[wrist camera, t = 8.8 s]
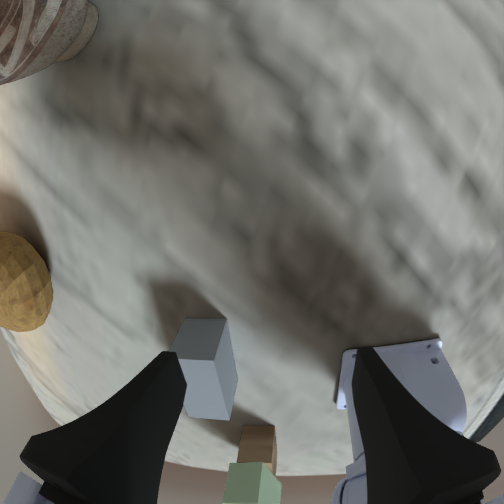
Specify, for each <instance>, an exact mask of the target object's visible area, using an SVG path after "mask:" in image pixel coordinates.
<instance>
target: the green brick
mask: <svg viewBox="0 0 504 504" xmlns="http://www.w3.org/2000/svg"><path fill="white" fill-rule="evenodd" d="M280 497H281V483H280V482H279V481H278V480H277V479H276V477H275V476H274V475H273V474H272V473H271V471H270V470H269V469H268V468H267V466H266V465H265V464H264V463H263V462H247V463H230V466H229V471H228V476H227V481H226V486H225V491H224V496H223V501H222V503H223V504H280Z"/></svg>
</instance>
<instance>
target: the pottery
mask: <svg viewBox="0 0 504 504" xmlns="http://www.w3.org/2000/svg"><path fill="white" fill-rule="evenodd" d="M97 22H98V11H97V8H96V7H95V5H94V4H93V3H91V2H89V1H88V0H0V85H2V84H5V83H10V82H13V81H16V80H19V79H21V78H24V77H27V76H29V75H32V74H34V73H36V72H38V71H40V70H43V69H45V68H47V67H48V66H50V65H51V64H53V63H54V62H63V61H67V60H69V59H71V58H72V57H74V56H75V55H76V54H78V53H79V52H80V51H81V50H82V49H83V48H84V47H85V46H86V44H87V43H88V41H89V40H90V39H91V37H92V35H93V34H94V31H95V28H96V25H97Z"/></svg>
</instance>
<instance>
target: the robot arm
mask: <svg viewBox="0 0 504 504" xmlns="http://www.w3.org/2000/svg"><path fill="white" fill-rule="evenodd" d="M442 343H443V342H442V340H441V339H440V338H438V339H432V340H426V341H419V342H412V343H405V344H398V345H390V346H382V347H368V348H359V349H352V350H346V351H345V352H344V353H343V357H342V365H341V373H340V381H339V388H338V394H337V401H336V408H337V409H347V413H348V420H349V427H350V435H351V443H352V451H353V460H354V463H352V464H350V465H348V466H346V476H347V478H345V479H342V480H341V481H340V482H339V483H338V484H337V486H336V488H335V490H334V493H333V496H332V499H331V504H485V502H484V496H483V492H482V490H483V489H485V488H486V487H487V486H488V485H489V484H491V483H492V482H493V481H494V480H495V479H496V478H497V477H498V476H499V475H500V473H501V469H500V466H499V463H498V460H497V457H496V455H495V453H494V451H492V450H490V449H488V448H486V447H484V446H481V445H479V444H477V443H475V442H473V441H471V440H469V439H467V438H466V437H464V436H463V434H462V431H463V429H464V426H465V422H466V401H465V397H464V394H463V391H462V389H461V387H460V385H459V383H458V381H457V379H456V377H455V375H454V373H453V371H452V369H451V367H450V365H449V364H448V362H447V360H446V358H445V356H444V354H443V352H442V351H441V347H442ZM354 354H356V355H354ZM353 355H354V356H353ZM186 389H187V383H186V380H185V377H184V374H183V371H182V369H181V366H180V363H179V360H178V357H177V354H176V352H170V351H162V352H161V353H160V354H159V355H158V356H157V357H156V358H155V359H153V360H152V361H151V362H150V363H149V364H148V365H147V366H146V367H145V368H144V369H143V370H142V371H141V372H140V373H139V374H138V375H137V376H136V377H134V378H133V379H132V380H131V381H130V382H129V383H128V384H127V385H125V386H124V387H123V388H122V389H121V390H119V391H118V392H117V393H116V394H115V395H113V396H112V397H111V398H110V399H108V400H107V401H105V402H104V403H103V404H101V405H100V406H98V407H97V408H95V409H94V410H92V411H90V412H89V413H87V414H85V415H83V416H81V417H80V418H78V419H76V420H74V421H72V422H70V423H68V424H65V425H63V426H61V427H58V428H56V429H53V430H50V431H47V432H44V433H41V434H37V435H34V436H32V437H31V438H30V440H29V441H28V443H27V445H26V446H25V448H24V449H23V451H22V453H21V454H20V459H21V461H22V462H23V463H24V464H25V465H27V467H28V468H30V469H31V470H32V471H33V472H34V473H35V474H37V475H38V476H39V477H40V478H41V479H43V480H44V483H43V485H41V484H40V483H38V482H36V481H35V480H33V479H32V478H30V477H29V476H27V475H26V474H24V473H22V472H20V473H19V475H18V476H17V478H16V480H15V482H14V483H13V485H12V487H11V489H10V491H9V493H8V495H7V497H6V499H5V500H4V502H3V504H157V498H158V491H159V485H160V479H161V473H162V468H163V464H164V460H165V455H166V452H167V449H168V445H169V443H170V440H171V437H172V435H173V432H174V429H175V426H176V424H177V421H178V418H179V415H180V413H181V410H182V407H183V403H184V399H185V394H186ZM486 504H504V494H503V495H501V496H499V497H497V498H495V499H494V500H491V501H489V502H488V503H486Z"/></svg>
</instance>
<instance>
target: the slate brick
mask: <svg viewBox="0 0 504 504" xmlns="http://www.w3.org/2000/svg"><path fill="white" fill-rule="evenodd" d="M169 351H170V352H176V354H177V357H178V360H179V363H180V366H181V369H182V371H183V374H184V377H185V380H186V383H187V389H186V394H185V399H184V403H183V404H184V407H185V409H186V412H187V414H188V416H189V417H194V418H204V419H215V420H230V417H231V412H232V407H233V402H234V397H235V392H236V387H237V382H238V376H237V371H236V365H235V360H234V355H233V349H232V344H231V338H230V333H229V327H228V322H227V319H204V318H185V320H184V322H183V324H182V326H181V328H180V330H179V332H178V334H177V336H176V338H175V340H174V342H173V344H172V346H171V348H170V350H169Z"/></svg>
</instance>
